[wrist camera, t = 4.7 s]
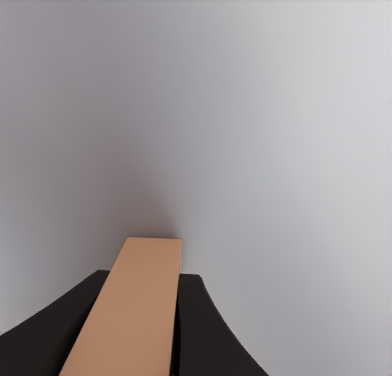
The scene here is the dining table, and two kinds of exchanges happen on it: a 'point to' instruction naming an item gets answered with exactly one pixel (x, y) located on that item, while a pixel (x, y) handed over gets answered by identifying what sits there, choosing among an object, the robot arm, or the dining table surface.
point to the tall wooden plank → (132, 315)
